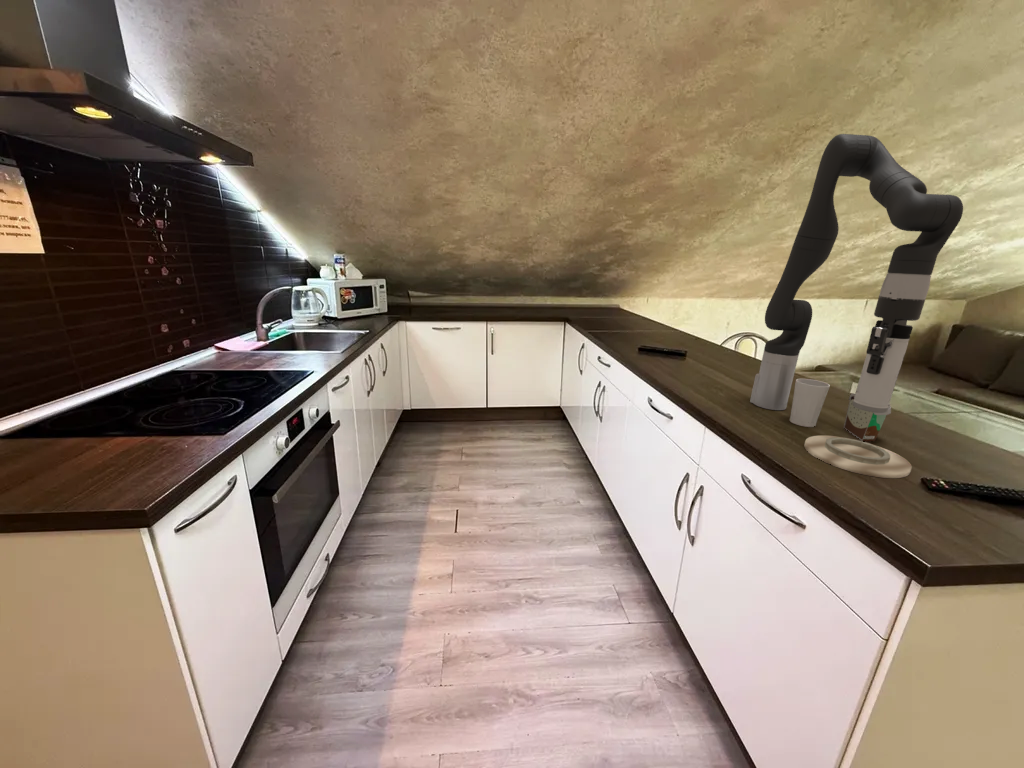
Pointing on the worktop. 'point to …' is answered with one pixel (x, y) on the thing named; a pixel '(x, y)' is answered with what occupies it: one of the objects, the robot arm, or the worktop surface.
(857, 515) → the worktop surface
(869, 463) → the round plate
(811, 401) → the cup
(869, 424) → the food container
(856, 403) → the travel mug
